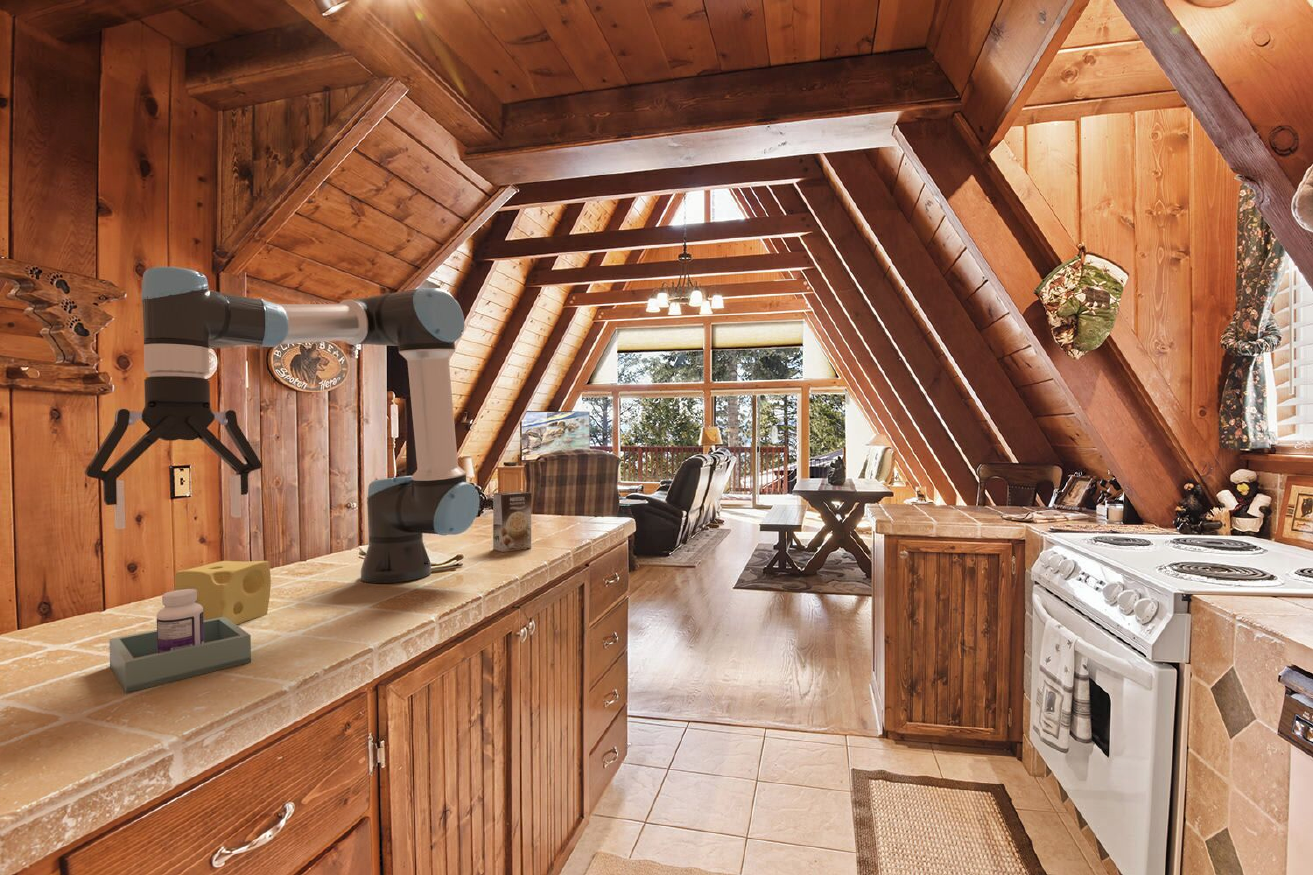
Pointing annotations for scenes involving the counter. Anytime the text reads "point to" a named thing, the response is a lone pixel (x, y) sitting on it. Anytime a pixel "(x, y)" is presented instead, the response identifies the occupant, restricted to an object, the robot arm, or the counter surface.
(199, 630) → the pill bottle
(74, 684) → the counter surface
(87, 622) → the counter surface
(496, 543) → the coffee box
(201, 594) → the cheese
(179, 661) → the tray
